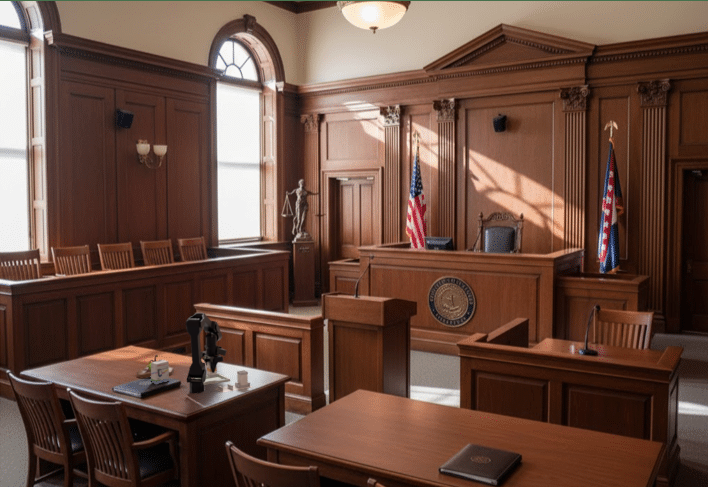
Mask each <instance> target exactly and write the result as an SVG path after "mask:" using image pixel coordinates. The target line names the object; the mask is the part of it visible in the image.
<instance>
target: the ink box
mask: <svg viewBox="0 0 708 487" xmlns="http://www.w3.org/2000/svg"><path fill="white" fill-rule="evenodd" d="M159 360H160V361H159ZM159 360H156V362H152V361H151V378H150V382H151V381H156V382H157V381H160V380H163V379H169V380H170V375H169V367H170V364H169V360H165V359H159Z"/></svg>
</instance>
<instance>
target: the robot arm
mask: <svg viewBox="0 0 708 487" xmlns="http://www.w3.org/2000/svg"><path fill="white" fill-rule="evenodd" d="M185 327H186V331H187V332H186V333H187V334H188V335H189V337H190V348H191V350H190V351H191V364H190V366H189V370H188V373H187V377H186V383H187V384H188V383H189V393H190V394H201V393H202V392H205V385H204V384H203V382H205V381H206V375H207V368H206V367H207V362H209V365H210V368H211V371H212V373H214V372H215V369H216V365H218V363H221V362H224V357H226V354H227V349H224V348H222V346H220V345H218V344H217V342H218V341H221V339H223V334H222V332H221V329H220V325H219V323H218V321H216V320H211V319H210V318H209V317H208V316H207V315H206V313H205V312H196V313H194V314H193V315H192V316H189V317H188V318H187V320H186V321H185ZM203 330H204V332H205V333H206V334H205V345H204V348H205V350H203V351H202V348H201V345H202V344H201V333H202V331H203ZM202 360H203V361H204V362H203V361H202ZM194 378H201V379H194ZM205 383H206V382H205Z"/></svg>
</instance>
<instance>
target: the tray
mask: <svg viewBox="0 0 708 487" xmlns="http://www.w3.org/2000/svg"><path fill="white" fill-rule="evenodd" d="M193 379H201V378H193ZM230 381H231V378H230V377H228V376H225V375H222V374H221V373H218V372H217V377H211V378H210V377H208V376H207V374H206V381H205V382H203V384H204V386H208V385H213V384H218V383H225V382H230Z"/></svg>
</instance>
